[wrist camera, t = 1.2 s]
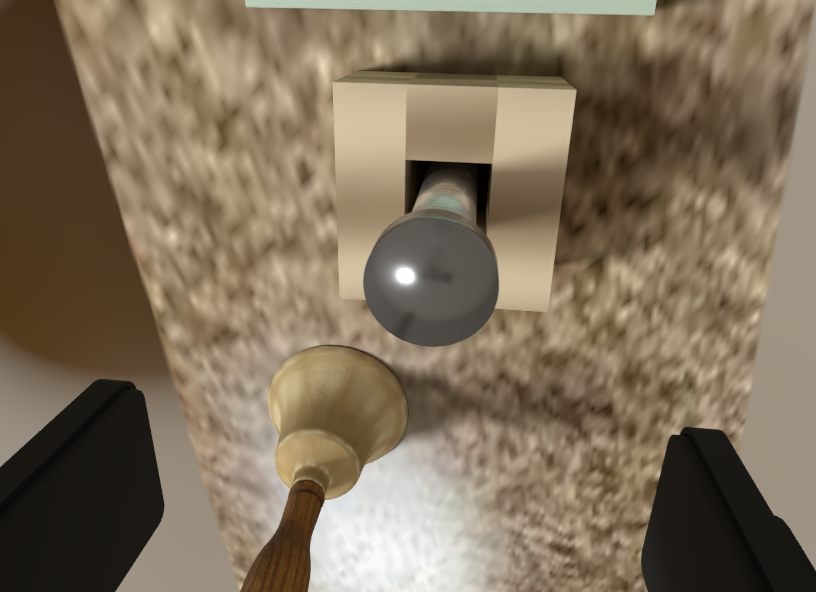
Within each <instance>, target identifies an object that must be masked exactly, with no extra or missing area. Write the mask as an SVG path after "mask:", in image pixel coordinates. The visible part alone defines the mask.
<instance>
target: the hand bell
mask: <svg viewBox="0 0 816 592" xmlns="http://www.w3.org/2000/svg"><path fill="white" fill-rule="evenodd" d="M268 408H269V413H270V416H271V419H272V422H273V425H274V427H275V429H276V430H277V432H278V433H279V435H280V436H279V441H278V445H277V448H276V451H275V467H276V470H277V473H278V475H279V477H280V478H281V480H282V481H283V483H284V484H285V485H286V486H287V487H289V488H290V492H289V496H288V500H287V503H286V506H285V509H284V513H283V516H282V519H281V522H280V525H279V527H278V529H277V531H276V533H275V534H274V536H273V537H272V538H271V540H270V541H269V542H268V543H267V544H266V545H265V546H264V548H263V549H262V550H261V552H260V553H259V554H258V556H257V558H256V559H255V561H254V563H253V564H252V566H251V568H250V570H249V572H248V574H247V576H246V578H245V581H244V583H243V586H242V588H241V591H240V592H308V586H309V580H310V571H311V560H310V541H311V537H312V533H313V530H314V527H315V525H316V522H317V519H318V516H319V514H320V511H321V508H322V506H323V503H324V501H325V500H329V499H334V498H337V497H340V496H342V495H344V494H345V493H347V492H348V491H349V490H351V489H352V488H353V486H354V485H355V484H356V482H357V481H358V479H359V477H360V474H361V472H362V469H363V467H364V465H365V464H368V463H371V462H373V461H375V460H377V459H379V458H381V457H382V456H384V455H385V454H387V453H388V452H389V451H390V450H392V449H393V448H394V447H395V446H396V444H397V443H398V442H399V440H400V439H401V437H402V435H403V434H404V431H405V429H406V425H407V419H408V405H407V400H406V396H405V393H404V391H403V389H402V387H401V385H400V383H399V381H398V380H397V378H396V377H395V376H394V375H393V374H392V373H391V372H390V370H389V369H388V368H387V367H385V366H384V365H383V364H382V363H380V362H379V361H377V360H376V359H374V358H373V357H371V356H369V355H367V354H365V353H362V352H360V351H357V350H354V349H351V348H346V347H341V346H318V347H313V348H309V349H306V350H303V351H301V352H298V353H296V354H295V355H293V356H291V357H290V358H288V359H287V360H286V361H285V362H283V363H282V364H281V365H280V367H279V368H278V369H277V370H276V372H275V374H274V375H273V377H272V380H271V382H270V386H269V389H268Z"/></svg>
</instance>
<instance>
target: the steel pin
mask: <svg viewBox="0 0 816 592" xmlns="http://www.w3.org/2000/svg"><path fill="white" fill-rule="evenodd" d="M477 188H478V169H477V165H476V163H467V162H444V161H431V162H430V164H429V167H428V170H427V172H426V175H425V178H424V181H423V183H422V186H421V189H420V191H419V194H418V197H417V200H416V202H415V205H414V208H413V211H412V212H410V213H408V214H406V215H403V216H401V217H400V218H398V219H396V220H395V221H393V222H392V223H391V224H390V225H389V226H388V227H387V228H386V229H385V230H384V231H383V232H382V233H381V235H380V236H379V238H378V240H377V241H376V243H375V245H374V247H373V249H372V252H371V254H370V256H369V258H368V260H367V263H366V266H365V270H364V275H363V288H364V294H365V299H366V301H367V304H368V307H369V309H370V310H371V312H372V314H373V315H374V317H375V318H376V320H377V321H378V322H379V323H380V324H381V325H382V326H383V327H384V328H385V329H386V330H387V331H389V332H390V333H391V334H393V335H394V336H396V337H398V338H400V339H402V340H404V341H407V342H409V343H412V344H416V345H421V346H434V347H437V346H446V345H450V344H454V343H457V342H460V341H462V340H464V339H466V338H468V337H470V336H472V335H473V334H475V333H476V332H477V331H478V330H479V329H481V328H482V327H483V325H484V324H485V323H486V322H487V321H488V319H489V318H490V316H491V315H492V313H493V311H494V309H495V306H496V303H497V300H498V294H499V274H498V262H497V257H496V253H495V250H494V248H493V245H492V243H491V242H490V240H489V238H488V237H487V235H486V234H485V233H484V232H483V231H482V230H481V229H480V228H479V227H478V226H477V225H476V213H477Z"/></svg>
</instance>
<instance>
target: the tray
mask: <svg viewBox="0 0 816 592" xmlns="http://www.w3.org/2000/svg"><path fill="white" fill-rule="evenodd" d="M656 1H657V0H245V3H246V7H266V8H310V9H359V10H408V11H457V12H506V13H555V14H604V15H654V13H655V7H656Z"/></svg>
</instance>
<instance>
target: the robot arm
mask: <svg viewBox="0 0 816 592" xmlns="http://www.w3.org/2000/svg"><path fill="white" fill-rule="evenodd" d="M163 512H164V500H163V494H162V489H161V483H160V478H159V472H158V467H157V461H156V456H155V451H154V446H153V440H152V435H151V429H150V424H149V418H148V413H147V407H146V402H145V397H144V394H143V393H142V391H140V390H137V389H136V387H135V385H134V384H133V383H132V382H130V381H120V380H107V379H99V380H96V381H95V382H93V383H92V384H91V385H90V386H89V387H88V388H87V389H86V390H85V391H84V392H82V393H81V394H80V395H79V396H78V397H77V398H76V399H75V400H74V401H72V402H71V403H70V405H68V406H67V407H66V408H65V409H64V410H63V411H61V412H60V413H59V414H58V415H57V416H56V417H55V418H54V419H53V420H52V421H51V422H49V423H48V424H47V425H46V426H45V427H44V428H43V429H42V430H41V431H39V432H38V433H37V434H36V435H35V436H34V437H33V438H32V439H31V440H30V441H28V443H26V444H25V445H24V446H23V447H22V448H21V449H20V450H19V451H18V452H17V453H15V454H14V455H13V456H12V457H11V458H10V459H9V460H8V461H7V462H5V463H4V464H3V465H2V466H1V467H0V592H115V591H116V590H117V588H118V587H119V585H120V583H121V582H122V581H123V579H124V577H125V576H126V574H127V573H128V571H129V570H130V568H131V567H132V565H133V564H134V562H135V561H136V559H137V558H138V556H139V555H140V553H141V551H142V550H143V548H144V547H145V545H146V544H147V542H148V541H149V539H150V538H151V536H152V535H153V533H154V532H155V530H156V528H157V527H158V525H159V523H160V522H161V519H162V516H163ZM641 566H642V573H643V577H644V580H645V584H646V587H647V590H648V592H816V571H815V569H814V567H813V566H812V564H811V562H810V561H809V559H808V558H807V556H806V554H805V553H804V551H803V550H802V548H801V546H800V545H799V543H798V541H797V540H796V538H795V536H794V535H793V533H792V531H791V530H790V528H789V527H788V526H787V524H786V523H785V522H784V521H783V520H782V519H781V518H779V517H777V516H774V515H773V513H772V511H771V510H770V508H769V506H768V505H767V503H766V501H765V500H764V498H763V496H762V495H761V493H760V492H759V490H758V488H757V486H756V485H755V483H754V481H753V480H752V478H751V476H750V475H749V473H748V471H747V470H746V468H745V466H744V465H743V463H742V461H741V460H740V458H739V456H738V454H737V453H736V451H735V449H734V448H733V446H732V444H731V443H730V441H729V439H728V438H727V436H726V435H725V433H724V432H723V431H721V430H716V429H704V428H692V427H685V428H683V430H682V431H681V433H680V435H671V437H670V439H669V442H668V445H667V450H666V454H665V458H664V462H663V466H662V470H661V474H660V479H659V483H658V487H657V491H656V495H655V499H654V503H653V508H652V512H651V516H650V520H649V524H648V528H647V532H646V537H645V541H644V545H643V549H642V555H641Z"/></svg>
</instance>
